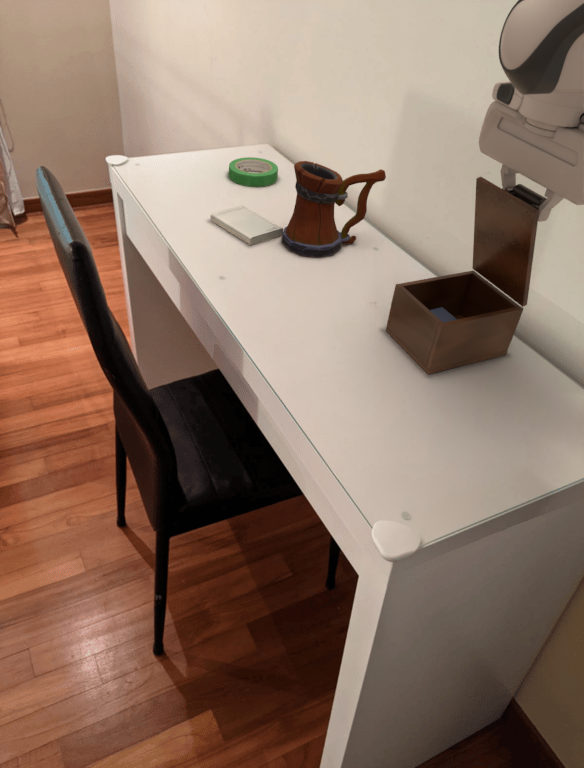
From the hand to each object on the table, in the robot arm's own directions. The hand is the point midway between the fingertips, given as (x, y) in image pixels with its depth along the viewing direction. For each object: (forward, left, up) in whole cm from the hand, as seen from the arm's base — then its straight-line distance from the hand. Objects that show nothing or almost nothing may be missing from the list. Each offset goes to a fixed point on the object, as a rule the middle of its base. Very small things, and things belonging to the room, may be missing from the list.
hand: (522, 209), depth 84 cm
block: (+6, +7, -20) cm, 22 cm away
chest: (+4, +5, -21) cm, 22 cm away
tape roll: (+59, -36, -21) cm, 73 cm away
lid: (+1, +2, -5) cm, 5 cm away
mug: (+32, -15, -21) cm, 42 cm away
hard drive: (+48, -12, -21) cm, 54 cm away
